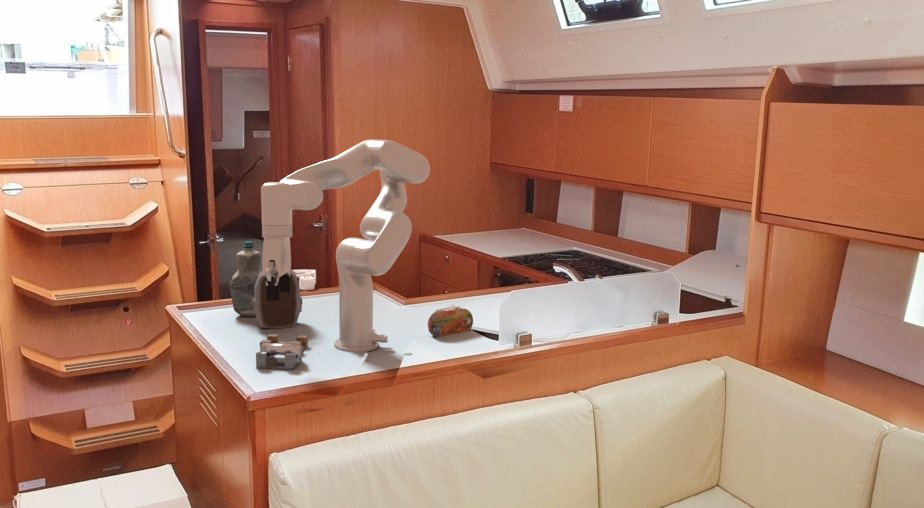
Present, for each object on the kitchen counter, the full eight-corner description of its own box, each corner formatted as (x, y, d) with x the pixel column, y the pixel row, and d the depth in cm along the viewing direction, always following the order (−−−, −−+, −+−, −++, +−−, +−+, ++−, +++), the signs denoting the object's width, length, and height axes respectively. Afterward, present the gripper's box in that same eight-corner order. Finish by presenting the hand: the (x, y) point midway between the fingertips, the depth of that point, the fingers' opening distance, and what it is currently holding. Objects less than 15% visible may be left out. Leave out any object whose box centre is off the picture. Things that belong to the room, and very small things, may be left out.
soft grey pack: (253, 332, 230) (252, 267, 227) (252, 325, 238) (250, 262, 235) (304, 329, 235) (303, 265, 232) (300, 322, 243) (300, 260, 239)
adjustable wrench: (441, 316, 243) (441, 310, 243) (423, 314, 246) (423, 309, 246) (473, 309, 266) (473, 304, 266) (457, 308, 268) (457, 303, 268)
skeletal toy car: (266, 296, 278) (265, 277, 277) (262, 290, 288) (261, 271, 287) (320, 293, 286) (320, 274, 284) (314, 287, 296) (314, 269, 295)
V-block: (302, 361, 202) (302, 347, 202) (294, 370, 195) (294, 355, 195) (265, 359, 203) (265, 345, 202) (256, 368, 196) (255, 353, 195)
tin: (431, 340, 226) (431, 313, 224) (426, 338, 228) (426, 310, 227) (473, 334, 234) (474, 307, 232) (467, 331, 236) (468, 305, 235)
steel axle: (300, 356, 200) (301, 345, 201) (297, 355, 197) (298, 343, 198) (263, 355, 201) (264, 343, 201) (259, 353, 198) (261, 342, 198)
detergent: (270, 313, 253) (269, 239, 249) (273, 318, 247) (272, 242, 243) (229, 316, 248) (227, 240, 244) (231, 321, 242) (229, 243, 238)
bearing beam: (307, 345, 217) (307, 335, 216) (299, 354, 209) (299, 343, 208) (269, 344, 218) (269, 334, 217) (260, 352, 209) (259, 342, 209)
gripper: (273, 226, 202) (274, 288, 205) (251, 235, 185) (253, 303, 188) (300, 226, 202) (302, 289, 205) (281, 236, 185) (283, 304, 188)
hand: (278, 296), depth 197 cm, fingers open, 9 cm apart
